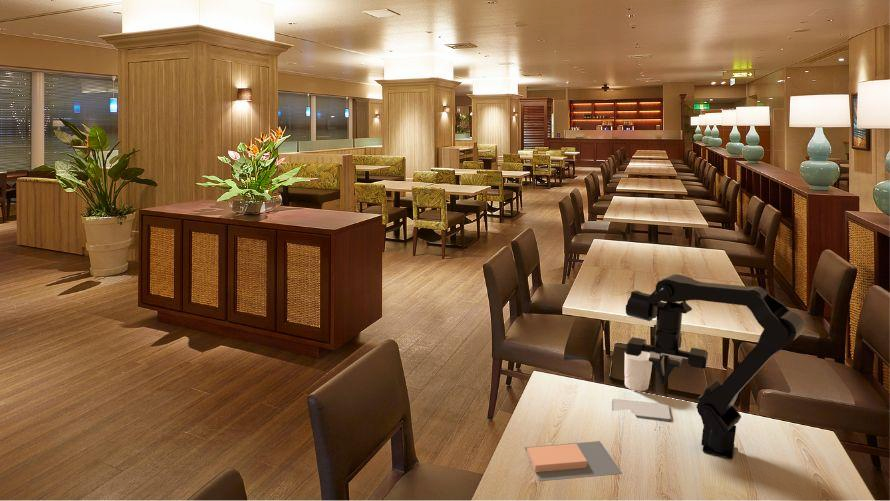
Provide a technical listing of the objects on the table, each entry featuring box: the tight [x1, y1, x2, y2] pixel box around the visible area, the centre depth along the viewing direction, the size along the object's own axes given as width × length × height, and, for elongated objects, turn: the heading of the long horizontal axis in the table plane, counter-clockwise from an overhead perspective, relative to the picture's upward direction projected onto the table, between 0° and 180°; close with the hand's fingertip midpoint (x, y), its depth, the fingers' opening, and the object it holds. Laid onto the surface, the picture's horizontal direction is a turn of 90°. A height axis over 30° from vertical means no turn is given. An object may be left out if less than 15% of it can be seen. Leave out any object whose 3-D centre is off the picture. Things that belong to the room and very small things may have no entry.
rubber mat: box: [524, 440, 623, 482], centre depth 130 cm, size 19×13×1 cm
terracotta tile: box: [526, 443, 587, 473], centre depth 130 cm, size 2×7×12 cm
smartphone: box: [611, 398, 672, 422], centre depth 153 cm, size 8×1×15 cm
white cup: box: [623, 351, 653, 392], centre depth 165 cm, size 8×8×10 cm
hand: (663, 383), depth 142 cm, fingers closed
